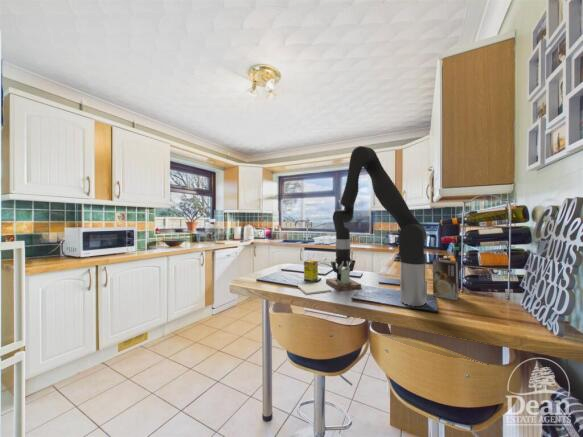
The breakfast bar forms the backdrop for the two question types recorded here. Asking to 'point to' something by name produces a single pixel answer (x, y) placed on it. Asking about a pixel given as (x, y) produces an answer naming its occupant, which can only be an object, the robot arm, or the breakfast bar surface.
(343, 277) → the sage block
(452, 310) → the breakfast bar surface
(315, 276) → the supplement box
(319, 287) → the tile mat
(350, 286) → the frame
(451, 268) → the coffee box
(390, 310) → the breakfast bar surface
